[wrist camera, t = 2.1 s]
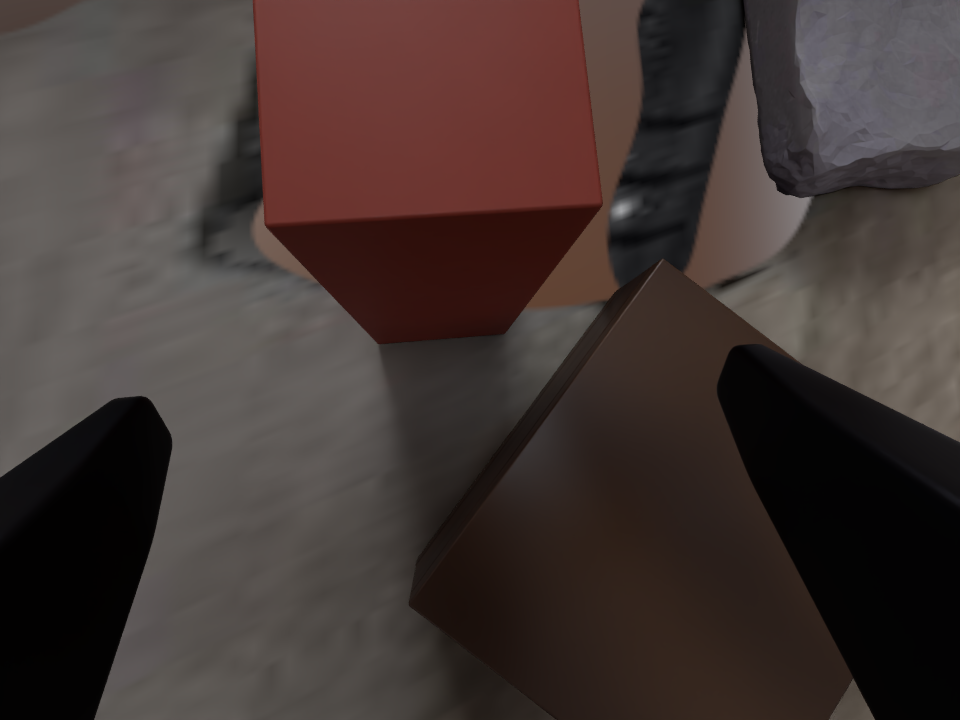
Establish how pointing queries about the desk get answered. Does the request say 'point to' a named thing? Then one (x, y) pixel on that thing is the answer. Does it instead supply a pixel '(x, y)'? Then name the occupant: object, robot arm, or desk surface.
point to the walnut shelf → (633, 537)
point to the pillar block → (426, 154)
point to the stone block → (856, 92)
